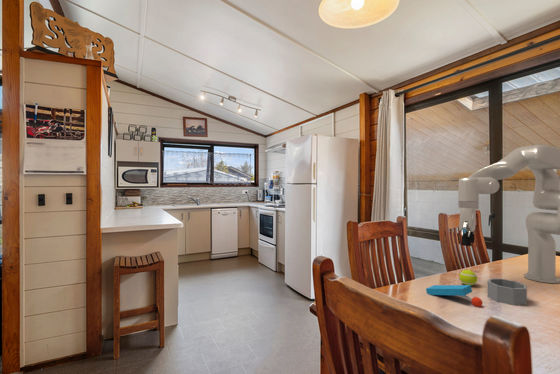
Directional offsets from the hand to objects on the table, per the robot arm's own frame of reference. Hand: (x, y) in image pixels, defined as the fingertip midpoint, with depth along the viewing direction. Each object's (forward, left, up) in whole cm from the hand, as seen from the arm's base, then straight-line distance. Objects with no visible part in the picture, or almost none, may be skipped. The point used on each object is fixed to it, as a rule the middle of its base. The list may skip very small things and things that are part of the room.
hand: (468, 243), depth 126 cm
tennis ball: (0, 0, -19) cm, 19 cm away
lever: (+22, -1, -19) cm, 29 cm away
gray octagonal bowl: (+8, +14, -18) cm, 24 cm away
